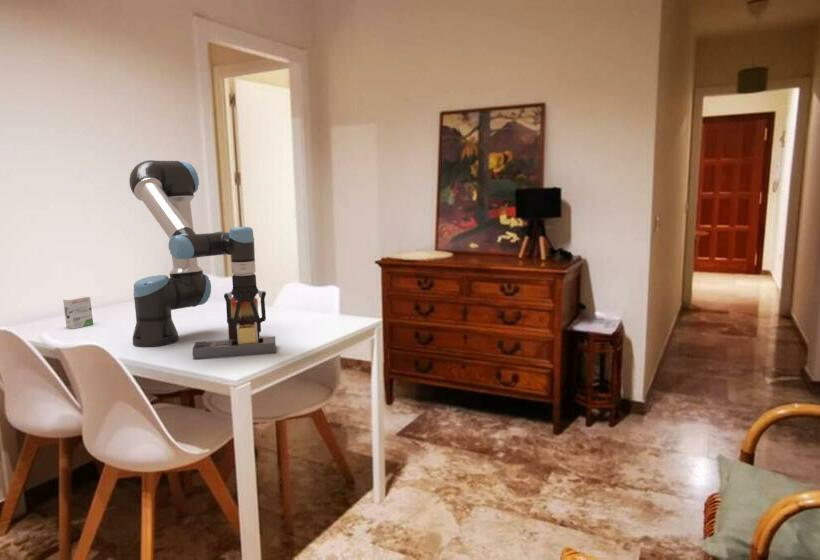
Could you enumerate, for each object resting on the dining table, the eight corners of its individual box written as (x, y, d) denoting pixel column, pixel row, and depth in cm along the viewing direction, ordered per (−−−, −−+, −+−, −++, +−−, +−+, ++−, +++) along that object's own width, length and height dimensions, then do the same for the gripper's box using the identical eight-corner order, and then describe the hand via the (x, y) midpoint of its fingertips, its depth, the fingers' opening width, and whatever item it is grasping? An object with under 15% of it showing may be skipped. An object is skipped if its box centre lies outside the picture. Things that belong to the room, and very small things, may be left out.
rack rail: (193, 359, 185) (192, 348, 184) (196, 351, 194) (195, 341, 193) (275, 353, 191) (275, 342, 190) (275, 346, 200) (275, 336, 199)
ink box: (87, 323, 238) (84, 295, 236) (93, 324, 236) (90, 296, 234) (65, 327, 231) (62, 298, 229) (72, 329, 228) (69, 300, 227)
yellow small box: (240, 346, 189) (238, 326, 188) (240, 342, 194) (239, 323, 193) (255, 345, 191) (254, 325, 190) (256, 341, 195) (254, 322, 194)
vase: (223, 339, 210) (220, 284, 207) (250, 333, 218) (247, 280, 214) (238, 344, 202) (234, 287, 199) (265, 338, 210) (262, 283, 207)
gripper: (214, 277, 183) (218, 347, 187) (272, 274, 188) (275, 343, 191) (216, 273, 191) (220, 342, 194) (272, 271, 195) (275, 338, 198)
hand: (248, 342), depth 193 cm, fingers closed on yellow small box, 5 cm apart
